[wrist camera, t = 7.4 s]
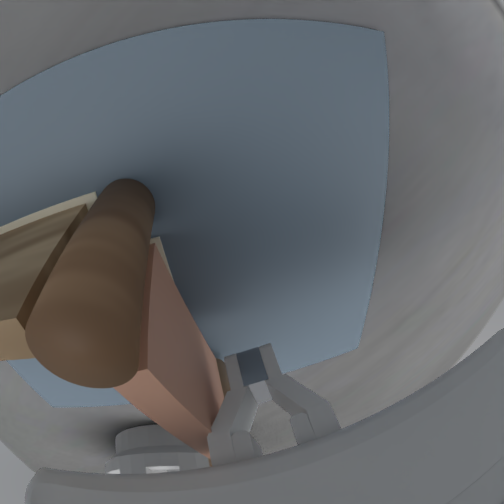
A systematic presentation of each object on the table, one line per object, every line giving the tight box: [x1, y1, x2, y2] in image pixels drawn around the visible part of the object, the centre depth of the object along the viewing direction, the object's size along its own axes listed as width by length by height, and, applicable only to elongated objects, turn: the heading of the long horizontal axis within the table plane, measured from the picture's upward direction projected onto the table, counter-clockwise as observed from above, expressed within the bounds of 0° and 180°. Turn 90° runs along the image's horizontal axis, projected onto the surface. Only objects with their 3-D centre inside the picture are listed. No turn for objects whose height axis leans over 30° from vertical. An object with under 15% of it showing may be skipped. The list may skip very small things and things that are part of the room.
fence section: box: [113, 243, 231, 467], centre depth 10 cm, size 2×9×6 cm, turn 12°
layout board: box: [0, 19, 389, 407], centre depth 11 cm, size 19×24×1 cm
